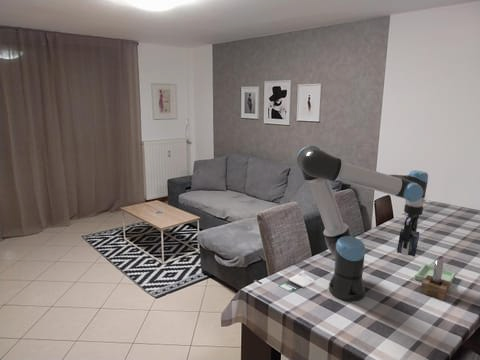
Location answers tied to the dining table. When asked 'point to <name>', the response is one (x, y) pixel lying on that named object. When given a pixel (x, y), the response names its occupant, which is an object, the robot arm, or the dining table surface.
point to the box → (412, 245)
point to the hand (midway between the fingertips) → (406, 252)
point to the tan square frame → (435, 288)
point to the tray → (429, 271)
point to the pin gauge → (437, 271)
